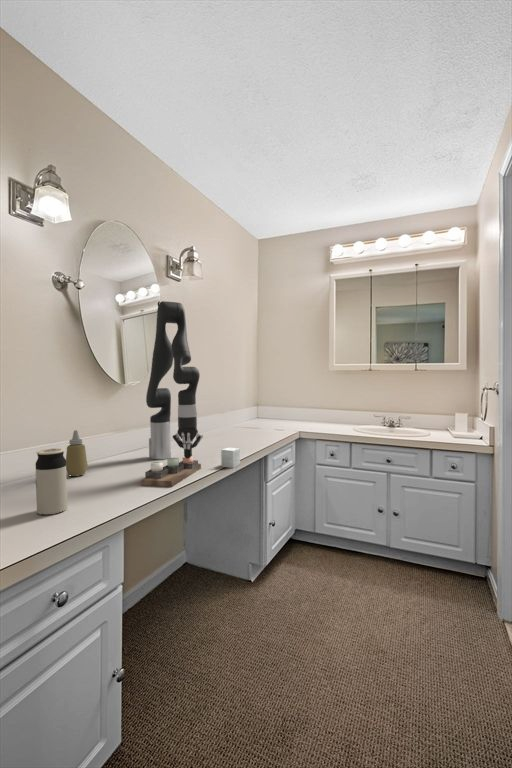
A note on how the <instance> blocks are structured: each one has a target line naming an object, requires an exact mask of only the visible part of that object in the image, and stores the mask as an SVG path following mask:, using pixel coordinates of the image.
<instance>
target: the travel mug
mask: <svg viewBox="0 0 512 768" xmlns="http://www.w3.org/2000/svg"><path fill="white" fill-rule="evenodd" d="M65 451H66V450H65V448H62V447H55V448H52V447H51V448H44V449H40V450H37V451H36V452H35V453H36V455H37V459H36V461H35V492H36V494H35V495H36V497H35V498H36V513H37V514H38V513H39V514H38V515H41V514H53V515H56V514H55V513H58V514H60V513H59V512H61V513H63V512H65V511H66V510H67V509H68V488H67V487H68V485H67V484H68V483H67V482H68V481H67V470H66V457H65V456H64V453H65ZM62 511H63V512H62Z"/></svg>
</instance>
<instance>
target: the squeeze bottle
mask: <svg viewBox="0 0 512 768" xmlns="http://www.w3.org/2000/svg"><path fill="white" fill-rule="evenodd" d="M78 432H79V431H78V430H76V429H75V430H73V435H72V438H71V439H69V443H68V444H69V445H67V447H66V452H65V453H66V455H65V459H66V474H67V475H68V476H69V475H71V476H77V475H82V476H84V475H85V474H86V473H87V472H86V471H87V468H88V461H87V452H86V451H87V450H86V445H85V444H83V439H82V438H80V436H79V433H78ZM83 474H84V475H83Z"/></svg>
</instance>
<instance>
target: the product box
mask: <svg viewBox="0 0 512 768" xmlns="http://www.w3.org/2000/svg"><path fill="white" fill-rule="evenodd" d="M240 449H241V448H238V447H225V448H223V449H221V451H220V453H221V458H220V459H221V462H220V463H221V466H220V467H222V468H230V469H231V468H233V469H234V468H236V467H238V466H240V465H241V455H240V451H241V450H240Z"/></svg>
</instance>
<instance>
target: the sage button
mask: <svg viewBox="0 0 512 768" xmlns="http://www.w3.org/2000/svg"><path fill="white" fill-rule="evenodd" d="M166 460H167V461H166V463H167V467H170V468H176V467H179V462H180V459H179V457H170V458H167V459H166Z"/></svg>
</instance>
